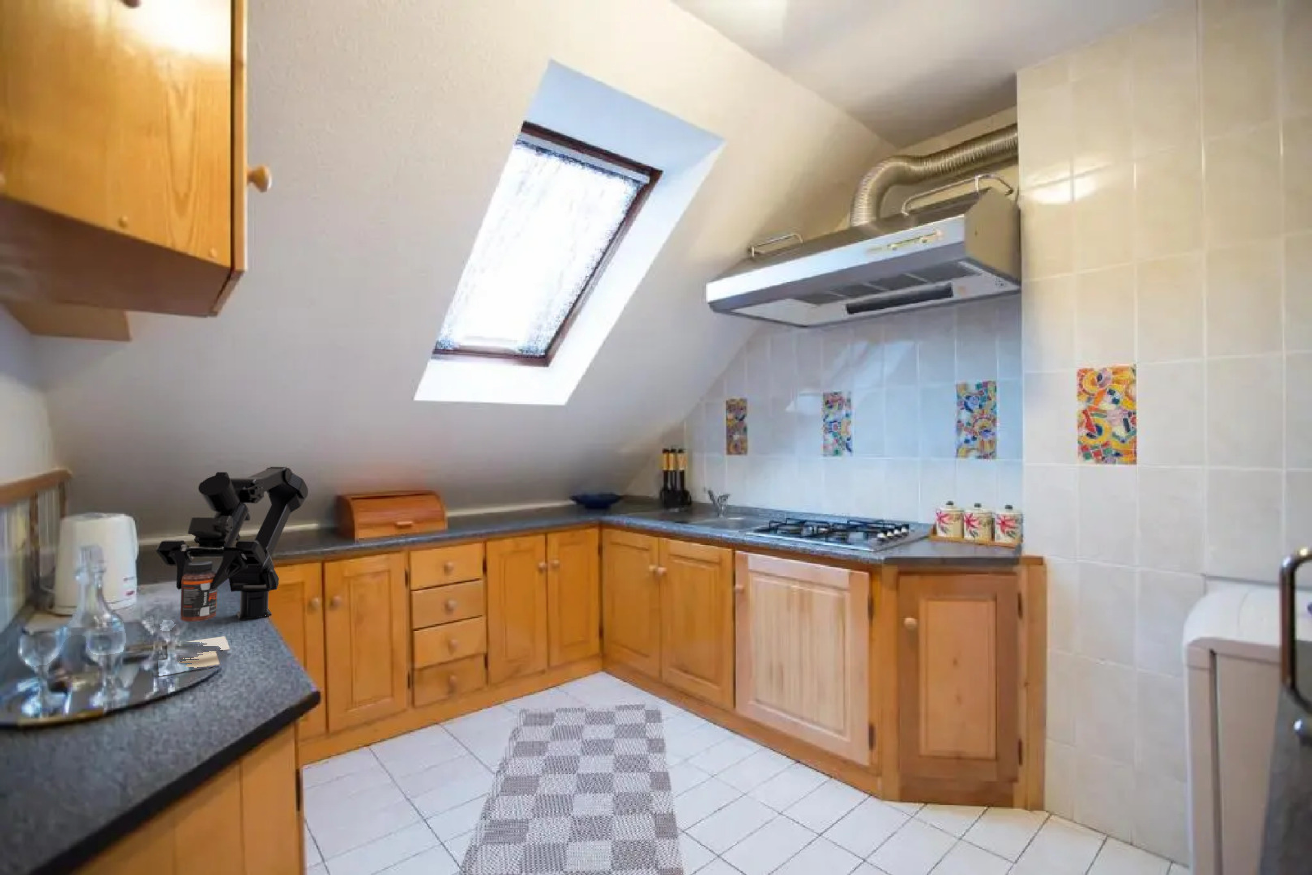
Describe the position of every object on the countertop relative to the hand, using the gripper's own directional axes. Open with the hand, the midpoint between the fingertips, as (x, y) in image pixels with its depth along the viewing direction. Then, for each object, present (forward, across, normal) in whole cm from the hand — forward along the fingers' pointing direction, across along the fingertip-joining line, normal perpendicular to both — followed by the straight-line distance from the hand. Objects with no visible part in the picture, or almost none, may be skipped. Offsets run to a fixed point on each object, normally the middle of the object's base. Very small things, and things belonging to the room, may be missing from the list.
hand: (195, 588), depth 126 cm
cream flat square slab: (+8, 0, +10) cm, 12 cm away
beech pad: (+15, +4, +3) cm, 15 cm away
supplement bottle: (+4, 0, +6) cm, 7 cm away
